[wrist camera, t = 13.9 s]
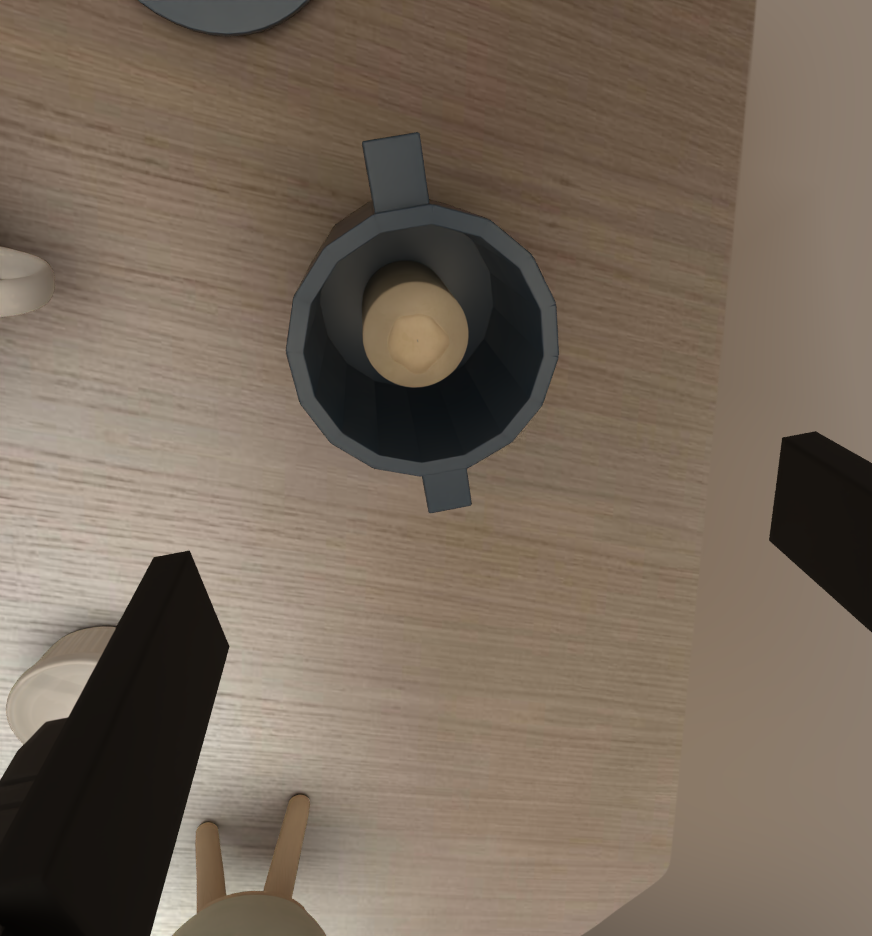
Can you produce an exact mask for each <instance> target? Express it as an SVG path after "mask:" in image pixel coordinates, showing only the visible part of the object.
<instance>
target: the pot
mask: <svg viewBox="0 0 872 936" xmlns="http://www.w3.org/2000/svg"><path fill="white" fill-rule="evenodd" d="M362 147H363V153H364V158H365V164H366V169H367V175H368V180H369V186H370V191H371V197H372V201H370V202H368V203H367V204H365V205H364V206H362V207H361V208H359V209H358V210H356V211H355V212H353V213H351V214H350V215H349V216H347V217H346V218H345V219H343V220H342V221H340V222H339V223H337V224H336V225H335V226H334V227H333V229H332V230H331V232H330V234H329V235H328V237H327V238H326V240H325V242H324V243H323V245H322V246H321V248H320V250H319V251H318V253H317V254H316V256H315V258H314V259H313V261H312V263H311V265H310V267H309V269H308V270H307V272H306V274H305V276H304V278H303V280H302V282H301V284H300V285H299V287H298V289H297V291H296V293H295V295H294V297H293V303H292V310H291V317H290V324H289V331H288V338H287V345H286V355H287V359H288V362H289V366H290V370H291V373H292V377H293V381H294V384H295V388H296V392H297V396H298V399H299V402H300V404H301V406H302V407H303V408H304V410H305V411H306V412H307V413H308V415H309V416H310V417H311V419H312V420H313V421H314V422H315V424H316V425H317V426H318V428H319V429H320V430H321V432H322V433H323V434H324V435H325V437H326V438H327V439H328V441H329V442H330V443H331V444H333V445H335V446H336V447H338V448H340V449H341V450H343V451H345V452H346V453H348V454H350V455H352V456H353V457H355V458H357V459H358V460H360V461H362V462H363V463H365V464H367V465H368V466H370V467H372V468H374V469H379V470H385V471H391V472H397V473H403V474H409V475H415V476H420V477H421V476H422V479H423V485H424V490H425V496H426V502H427V507H428V512H429V513H434V512H440V511H445V510H450V509H456V508H461V507H466V506H471V504H472V502H471V495H470V488H469V481H468V474H467V468H469V467H471V466H472V465H474V464H476V463H478V462H479V461H481V460H483V459H484V458H486V457H488V456H489V455H491V454H493V453H495V452H496V451H498V450H500V449H501V448H503V447H505V446H506V445H508V444H510V443H511V442H512V441H513V440H514V439H515V438H516V437H517V435H518V434H519V433H520V432H521V431H522V429H523V428H524V427H525V426H526V425H527V423H528V422H529V421H530V420H531V418H532V417H533V416H534V415H535V414H536V412H537V411H538V410H539V409H540V408H541V406H542V405H543V402H544V399H545V396H546V393H547V390H548V387H549V384H550V381H551V378H552V375H553V372H554V370H555V367H556V364H557V361H558V356H559V345H558V327H557V309H556V302H555V300H554V298H553V296H552V294H551V292H550V290H549V288H548V286H547V284H546V282H545V280H544V278H543V276H542V273H541V271H540V269H539V267H538V265H537V263H536V261H535V259H534V257H533V256H532V254H531V253H530V252H528V251H527V250H526V249H525V248H523V247H522V246H521V245H520V244H519V243H517V242H516V241H515V240H514V239H513V238H511V237H510V236H509V235H508V234H507V233H505V232H504V231H503V230H502V229H501V228H499V227H498V226H497V225H496V224H495V223H493V222H492V221H491V220H489V219H487V218H485V217H482V216H479V215H476V214H473V213H471V212H468V211H465V210H462V209H459V208H457V207H454V206H451V205H448V204H444V203H440V202H437V201H433V200H429V196H428V189H427V182H426V175H425V168H424V160H423V153H422V146H421V139H420V134H419V133H418V132H416V133H410V134H404V135H398V136H392V137H386V138H380V139H373V140H367V141H363V142H362ZM397 261H413V262H418V263H420V264H423V265H425V266H426V267H428V268H429V269H431V270H432V271H433V272H434V273H435V274H436V275H437V276H438V277H439V278H440V279H441V281H442V282H443V283H444V285H445V286H446V287H447V289H448V290H449V291H450V292H451V294H452V295H453V296H454V298H455V299H456V300H457V302H458V303H459V304H460V306H461V308H462V310H463V312H464V314H465V316H466V320H467V324H468V344H467V348H466V351H465V354H464V356H463V358H462V360H461V362H460V363H459V365H458V366H457V367H456V369H455V370H454V371H453V372H452V373H451V374H450V375H448V376H447V377H446V378H444V379H443V380H441V381H439V382H437V383H435V384H432V385H429V386H424V387H406V386H401V385H398V384H395V383H393V382H391V381H389V380H387V379H386V378H384V377H383V376H382V375H380V374H379V373H378V372H377V371H376V370H375V368H374V367H373V366H372V364H371V363H370V361H369V359H368V357H367V355H366V352H365V349H364V345H363V335H362V299H363V294H364V290H365V287H366V285H367V283H368V282H369V280H370V278H371V277H372V276H373V275H374V274H375V273H376V272H377V271H378V270H379V269H380V268H382V267H383V266H385V265H387V264H390V263H393V262H397Z"/></svg>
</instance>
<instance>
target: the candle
mask: <svg viewBox="0 0 872 936" xmlns="http://www.w3.org/2000/svg"><path fill="white" fill-rule="evenodd" d="M362 335H363V345H364V349H365V352H366V355H367V357H368V359H369V361H370V363H371V364H372V366H373V367H374V368H375V370H376V371H377V372H378V373H379V374H380V375H382V376H383V377H384V378H386V379H387V380H389V381H391V382H393V383H395V384H398V385H401V386H406V387H424V386H429V385H432V384H435V383H437V382H439V381H441V380H443V379H444V378H446V377H447V376H448V375H450V374H451V373H452V372H453V371H454V370H455V369H456V367H457V366H458V365H459V363H460V362H461V360H462V358H463V356H464V354H465V351H466V348H467V344H468V324H467V320H466V316H465V314H464V312H463V310H462V308H461V306H460V304H459V303H458V302H457V300H456V299H455V298H454V296H453V295H452V294H451V292H450V291H449V290H448V289H447V287H446V286H445V285H444V283H443V282H442V281H441V279H440V278H439V277H438V276H437V275H436V274H435V273H434V272H433V271H432V270H431V269H429V268H428V267H426V266H425V265H423V264H420V263H418V262H413V261H397V262H393V263H390V264H387V265H385V266H383V267H382V268H380V269H379V270H378V271H377V272H376V273H375V274H374V275H373V276H372V277H371V278H370V280H369V282H368V283H367V285H366V287H365V290H364V294H363V299H362Z"/></svg>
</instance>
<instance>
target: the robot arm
mask: <svg viewBox="0 0 872 936" xmlns="http://www.w3.org/2000/svg"><path fill="white" fill-rule="evenodd" d="M769 541H770V542H772V543H773V544H774V545H775V546H776V547H777V548H778V549H779V550H780V551H782V552H783V553H784V554H785V555H786V556H787V557H788V558H789V559H790V560H791V561H793V562H794V563H795V564H796V565H797V566H798V567H799V568H800V569H802V570H803V571H804V572H805V573H806V574H807V575H808V576H809V577H810V578H812V579H813V580H814V581H815V582H816V583H817V584H818V585H819V586H821V587H822V588H823V589H824V590H825V591H826V592H827V593H828V594H829V595H831V596H832V597H833V598H834V599H835V600H836V601H837V602H838V603H840V604H841V605H842V606H843V607H844V608H845V609H846V610H847V611H848V612H850V613H851V614H852V615H853V616H854V617H855V618H856V619H857V620H858V621H860V622H861V623H862V624H863V625H864V626H865V627H866V628H867V629H869V630H870V631H871V632H872V463H871V462H869V461H867V460H865V459H864V458H862V457H860V456H858V455H857V454H855V453H853V452H851V451H849V450H848V449H846V448H844V447H842V446H840V445H839V444H837V443H835V442H834V441H832V440H830V439H828V438H826V437H825V436H823V435H821V434H819V433H818V432H816V431H815V432H810V433H804V434H799V435H794V436H789V437H783V438H782V444H781V452H780V459H779V467H778V475H777V483H776V491H775V498H774V506H773V514H772V522H771V530H770V538H769ZM228 650H229V644H228V642H227V640H226V637H225V635H224V632H223V630H222V627H221V625H220V623H219V620H218V618H217V615H216V613H215V611H214V608H213V606H212V603H211V601H210V598H209V596H208V594H207V591H206V589H205V586H204V584H203V582H202V579H201V577H200V574H199V572H198V569H197V567H196V565H195V562H194V560H193V557H192V555H191V553H190V551H185V552H179V553H174V554H169V555H164V556H158V557H154V558H153V560H152V562H151V563H150V565H149V567H148V569H147V571H146V573H145V575H144V576H143V578H142V580H141V582H140V584H139V586H138V588H137V590H136V591H135V593H134V595H133V597H132V599H131V601H130V603H129V605H128V606H127V608H126V610H125V612H124V614H123V616H122V618H121V619H120V621H119V623H118V625H117V627H116V629H115V631H114V633H113V634H112V636H111V638H110V640H109V642H108V644H107V646H106V648H105V649H104V651H103V653H102V655H101V657H100V659H99V661H98V662H97V664H96V666H95V668H94V670H93V672H92V674H91V676H90V677H89V679H88V681H87V683H86V685H85V687H84V689H83V690H82V692H81V694H80V696H79V698H78V700H77V702H76V704H75V705H74V707H73V709H72V711H71V713H70V715H69V717H67V718H62V719H57V720H52V721H47V722H45V723H44V724H43V725H42V726H41V727H40V728H39V729H38V730H37V731H36V732H35V733H34V734H33V735H32V737H31V738H30V739H29V740H28V741H27V742H26V743H25V744H24V745H23V746H22V747H21V748H20V749H19V750H18V751H17V753H16V754H15V756H14V758H13V760H12V761H11V763H10V765H9V766H8V768H7V770H6V771H5V773H4V775H3V776H2V778H1V780H0V936H150V934H151V930H152V927H153V923H154V920H155V916H156V912H157V909H158V905H159V901H160V898H161V894H162V890H163V887H164V883H165V879H166V876H167V872H168V868H169V865H170V861H171V858H172V854H173V850H174V847H175V843H176V839H177V836H178V832H179V828H180V825H181V821H182V817H183V814H184V810H185V807H186V803H187V799H188V796H189V792H190V788H191V785H192V781H193V777H194V774H195V770H196V766H197V763H198V759H199V756H200V752H201V748H202V745H203V741H204V737H205V734H206V730H207V726H208V723H209V719H210V715H211V712H212V708H213V704H214V701H215V697H216V694H217V690H218V686H219V683H220V679H221V675H222V672H223V668H224V664H225V661H226V657H227V653H228Z"/></svg>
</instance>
